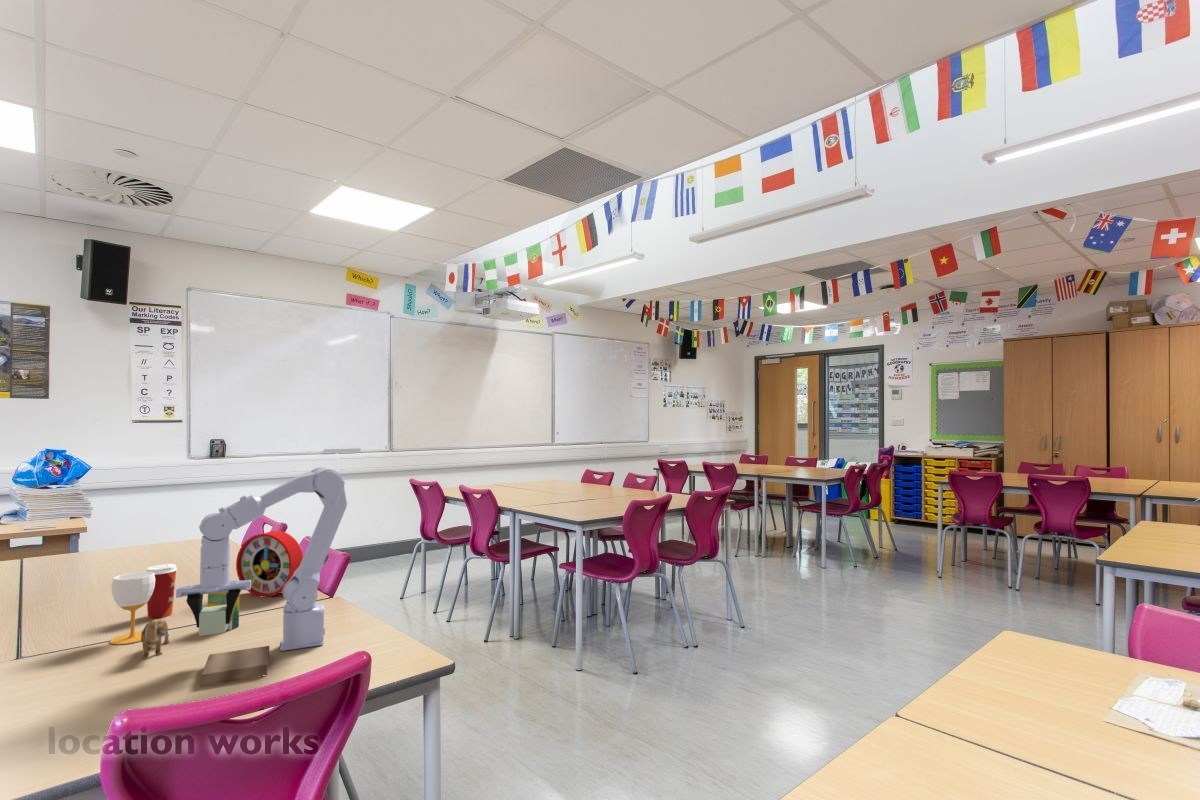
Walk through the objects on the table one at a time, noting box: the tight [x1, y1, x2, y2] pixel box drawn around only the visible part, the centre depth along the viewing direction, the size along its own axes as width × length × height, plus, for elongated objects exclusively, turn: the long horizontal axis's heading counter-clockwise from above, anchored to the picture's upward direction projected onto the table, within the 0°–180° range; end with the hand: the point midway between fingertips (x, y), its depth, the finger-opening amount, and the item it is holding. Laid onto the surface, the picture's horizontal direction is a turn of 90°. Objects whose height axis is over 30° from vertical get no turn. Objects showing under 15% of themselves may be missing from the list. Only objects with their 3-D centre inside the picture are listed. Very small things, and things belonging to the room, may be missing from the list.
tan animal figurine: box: [140, 618, 170, 659], centre depth 143 cm, size 15×5×9 cm, turn 35°
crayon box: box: [206, 592, 240, 631], centre depth 159 cm, size 7×3×12 cm, turn 84°
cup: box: [109, 571, 155, 646], centre depth 152 cm, size 9×9×16 cm
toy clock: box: [235, 530, 304, 598], centre depth 191 cm, size 20×6×20 cm, turn 80°
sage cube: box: [198, 605, 228, 637], centre depth 137 cm, size 5×5×5 cm
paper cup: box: [145, 563, 178, 620], centre depth 170 cm, size 8×8×14 cm
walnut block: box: [200, 645, 270, 688], centre depth 132 cm, size 12×12×3 cm
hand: (213, 624), depth 137 cm, fingers closed on sage cube, 5 cm apart
